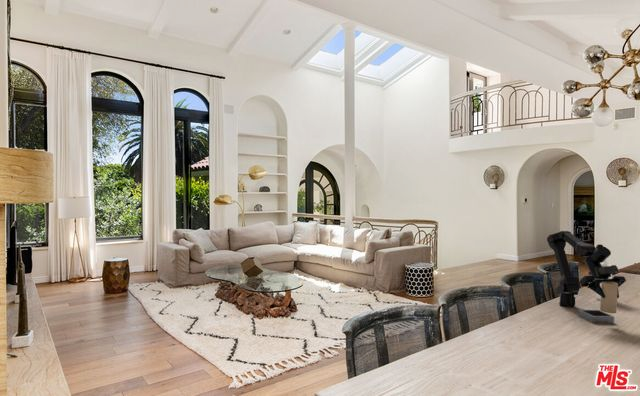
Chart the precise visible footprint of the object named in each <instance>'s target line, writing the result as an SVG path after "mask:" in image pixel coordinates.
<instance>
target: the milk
mask: <svg viewBox="0 0 640 396" xmlns="http://www.w3.org/2000/svg"><path fill="white" fill-rule="evenodd" d="M601 265H602V267H604V266H612V265H611V264H610V263H608V262H607V259H606V260H605V261H604V262H602V263H601ZM608 278H609V279H612V278H613V274H611V276H610V277H608ZM600 287H601V288H602V283H600ZM595 299H596V300H600V301H601V296H600V295H599V294H597V293H596V292H595Z"/></svg>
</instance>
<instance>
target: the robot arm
mask: <svg viewBox="0 0 640 396" xmlns="http://www.w3.org/2000/svg"><path fill="white" fill-rule="evenodd" d="M546 238H547V239H546V241H547V243H548V246H549V248H550V249H551V250H552V251H553V252H554V255H555V258H556V262H557V266H558V269H559V273H560V279H559V282H558V283H559V284H558V286H557V287H556V288H555V290H556V291H555V292H556V293H557V294H559V301H558V304H559V306H560V307H568V308H575V306H576V297H575V296H578V294H579V292H580V287H587V288H588V289H590V290H592V291H593V292H594V293H595V294H596V293H597V294H599V295H600V296H601V297H603V298H605V295H604V293H603V291H602V289H601V287H600V283H602V281H609V282H615V283H617V284H618V288H619V287H621V286H622V285H624V284H625V283H626V282H627V279H626V278H625V276H623V275H615V274H617V273H618V272H619V268H618V266H617V265H616V264H614V265H613V264H612V265H611V266H604V267H602V265H601V264H603V263H604V261H605V260H607V259H608V258H609V257H610V256H611V255H612V254H611V253H612V251H611V250H610V249H609V248H607V247H605V246H604V245H603V244H600V243H599V244H598V243H597V245H596V246H594V245H592V244H591V243H587V242H584V241H582V240H581V239H580V238H578V237H577V236H575V234H572V231H569V230H560V231H558V232H556V233H553V234H549V235H548V236H547V237H546ZM567 243H568V244H569V245H570V246H571V247H572V248H573V249H574V250H575V253H576V254H577V255H578V256H579V257H580V258H585V259H583V261H582V264H581V265H583V266H584V265H585V266H586V267H587V269H588V271H589V272H588V275H584V276H583V277H582V278H581V279H580V280H578V279H579V278H578V277H577V276H574V275H573V274H572V271H571V268H570V264H569V261H568V258H567V255H566V251H565V248H566V245H567ZM611 274H612V275H614V276H612V279H609V278H608V277H610V276H611ZM619 293H620V292H619V290H618V293H617V299H619V298H620V294H619Z"/></svg>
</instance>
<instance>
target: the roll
mask: <svg viewBox="0 0 640 396" xmlns="http://www.w3.org/2000/svg"><path fill="white" fill-rule="evenodd" d="M601 289H602V291H603V293H604V295H605V298H603V297H601V300H600V308H599V310H600V311H602V312H605V313H607V314H617V307H618V305H617V303H618V298H617V293H618V291H619V287H618V284H617V283H615V282H609V281H602V288H601Z"/></svg>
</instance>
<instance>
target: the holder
mask: <svg viewBox="0 0 640 396" xmlns="http://www.w3.org/2000/svg"><path fill="white" fill-rule="evenodd" d="M578 317H580V318H582V319H584V320H586V321H588V322H590V323H592V324H615V316H614V315H611V314H610V313H607V312H603V311H601V310H600V309H578Z"/></svg>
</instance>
